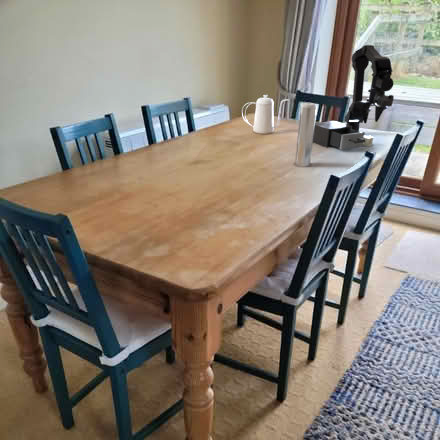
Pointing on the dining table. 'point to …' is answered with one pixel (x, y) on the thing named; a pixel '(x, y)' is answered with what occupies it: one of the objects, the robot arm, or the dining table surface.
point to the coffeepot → (264, 115)
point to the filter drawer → (346, 138)
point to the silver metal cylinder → (305, 134)
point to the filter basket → (368, 140)
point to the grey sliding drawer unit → (326, 131)
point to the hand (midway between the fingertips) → (370, 122)
